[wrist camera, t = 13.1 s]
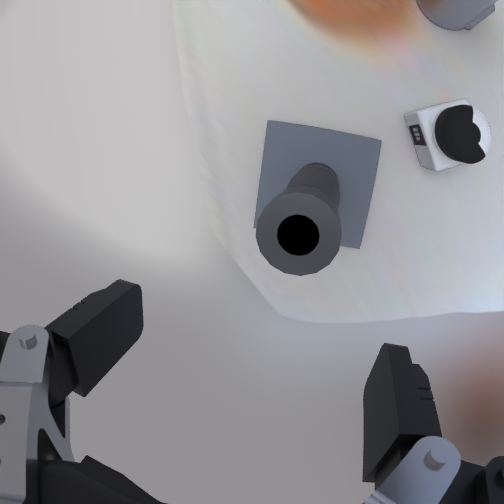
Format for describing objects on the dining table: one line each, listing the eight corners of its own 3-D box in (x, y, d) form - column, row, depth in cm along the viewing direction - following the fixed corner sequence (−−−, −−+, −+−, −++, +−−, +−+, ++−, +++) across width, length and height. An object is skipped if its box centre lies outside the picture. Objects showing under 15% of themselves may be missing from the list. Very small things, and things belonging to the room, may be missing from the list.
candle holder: (330, 212, 44) (324, 291, 22) (289, 197, 45) (241, 260, 22) (345, 171, 42) (359, 208, 19) (303, 156, 43) (267, 174, 20)
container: (420, 166, 40) (451, 177, 28) (403, 115, 38) (429, 106, 26) (464, 153, 37) (505, 160, 25) (448, 103, 35) (486, 92, 24)
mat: (380, 140, 40) (381, 140, 39) (358, 247, 46) (359, 249, 45) (269, 120, 43) (267, 120, 42) (255, 225, 49) (253, 227, 48)
